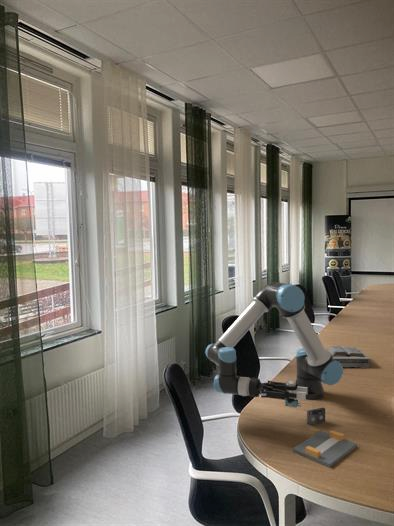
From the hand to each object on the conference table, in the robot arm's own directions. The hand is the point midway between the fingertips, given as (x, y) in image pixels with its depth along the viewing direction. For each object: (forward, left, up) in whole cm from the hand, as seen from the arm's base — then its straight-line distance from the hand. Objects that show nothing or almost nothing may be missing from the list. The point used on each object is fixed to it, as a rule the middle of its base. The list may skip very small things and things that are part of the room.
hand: (306, 393), depth 163 cm
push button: (+2, -5, -6) cm, 8 cm away
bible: (-97, -34, -17) cm, 104 cm away
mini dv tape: (-12, -3, -17) cm, 21 cm away
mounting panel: (+5, +11, -17) cm, 21 cm away
